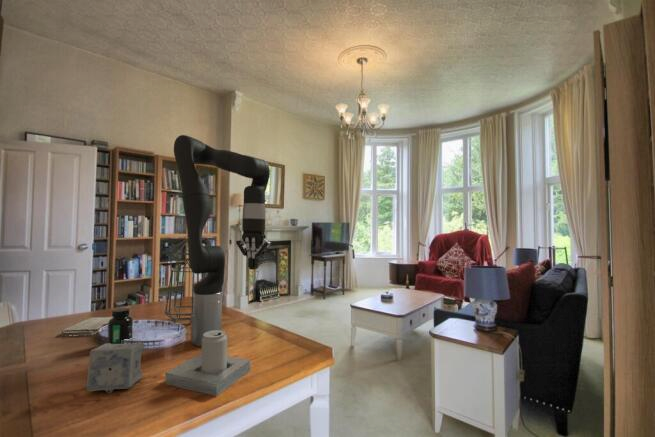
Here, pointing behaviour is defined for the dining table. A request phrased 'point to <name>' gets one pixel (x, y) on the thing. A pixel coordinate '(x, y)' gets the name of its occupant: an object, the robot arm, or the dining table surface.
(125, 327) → the supplement bottle
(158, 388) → the dining table surface
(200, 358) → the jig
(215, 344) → the beverage can
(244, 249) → the robot arm
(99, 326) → the washcloth
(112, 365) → the incense holder
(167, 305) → the geometric lantern
